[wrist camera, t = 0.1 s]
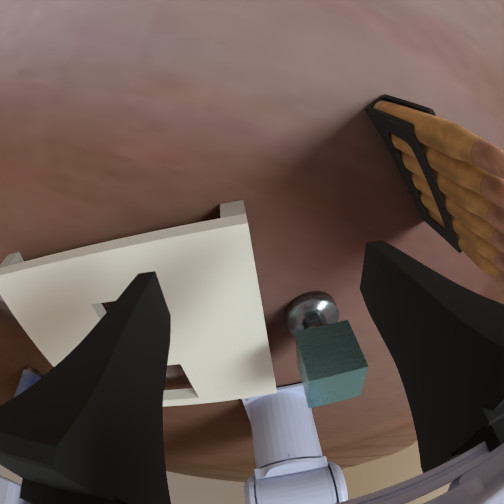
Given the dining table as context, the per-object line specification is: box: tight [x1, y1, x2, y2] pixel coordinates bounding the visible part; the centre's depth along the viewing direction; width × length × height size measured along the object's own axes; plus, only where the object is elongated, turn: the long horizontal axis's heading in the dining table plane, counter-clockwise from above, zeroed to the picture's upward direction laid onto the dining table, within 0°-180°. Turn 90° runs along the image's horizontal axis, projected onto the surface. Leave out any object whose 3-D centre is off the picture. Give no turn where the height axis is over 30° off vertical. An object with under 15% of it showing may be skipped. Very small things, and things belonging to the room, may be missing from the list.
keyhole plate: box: [0, 200, 277, 406], centre depth 23 cm, size 18×20×3 cm
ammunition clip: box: [366, 94, 504, 289], centre depth 14 cm, size 11×2×12 cm, turn 40°
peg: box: [285, 291, 368, 408], centre depth 22 cm, size 4×4×8 cm
